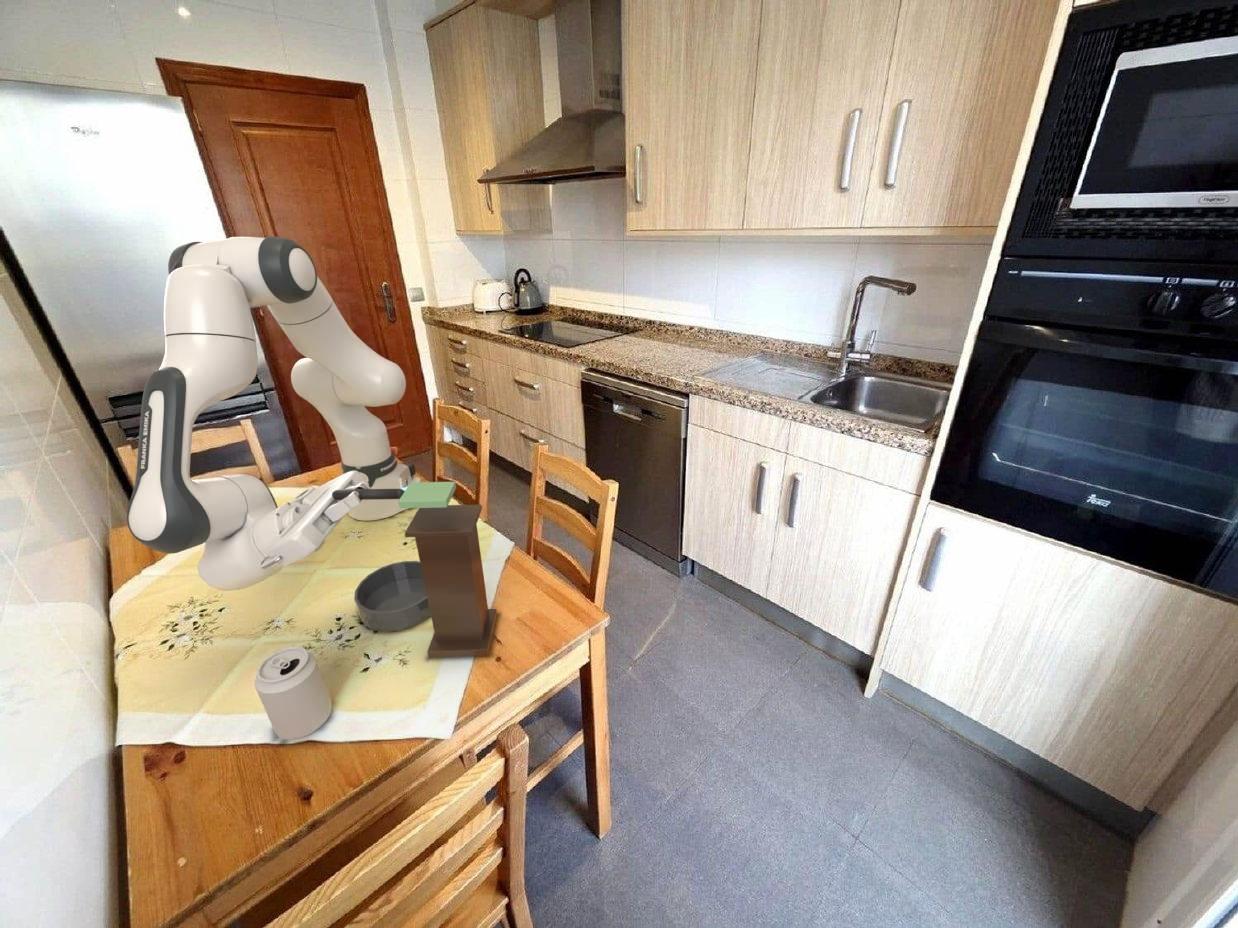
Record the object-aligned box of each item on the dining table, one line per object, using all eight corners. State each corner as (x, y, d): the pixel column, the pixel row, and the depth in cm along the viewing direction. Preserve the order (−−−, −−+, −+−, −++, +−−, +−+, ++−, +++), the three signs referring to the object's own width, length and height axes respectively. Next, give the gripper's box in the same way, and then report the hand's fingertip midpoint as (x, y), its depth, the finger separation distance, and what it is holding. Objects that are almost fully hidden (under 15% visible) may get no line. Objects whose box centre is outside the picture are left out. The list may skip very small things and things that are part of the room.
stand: (443, 616, 95) (422, 502, 84) (497, 614, 95) (482, 501, 84) (428, 658, 86) (402, 536, 75) (487, 656, 86) (470, 535, 75)
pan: (377, 579, 104) (372, 561, 102) (450, 577, 105) (447, 559, 103) (345, 633, 91) (340, 614, 89) (430, 630, 91) (426, 611, 89)
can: (308, 748, 71) (284, 689, 66) (263, 737, 72) (236, 679, 67) (344, 703, 78) (325, 646, 72) (302, 694, 79) (280, 637, 74)
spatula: (324, 509, 74) (321, 500, 73) (342, 489, 79) (339, 480, 79) (446, 507, 75) (445, 498, 74) (456, 488, 80) (455, 479, 80)
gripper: (236, 557, 68) (313, 513, 66) (310, 485, 87) (373, 448, 84) (272, 588, 71) (348, 546, 69) (337, 511, 89) (398, 476, 87)
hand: (362, 491), depth 76 cm, fingers closed on spatula, 1 cm apart
